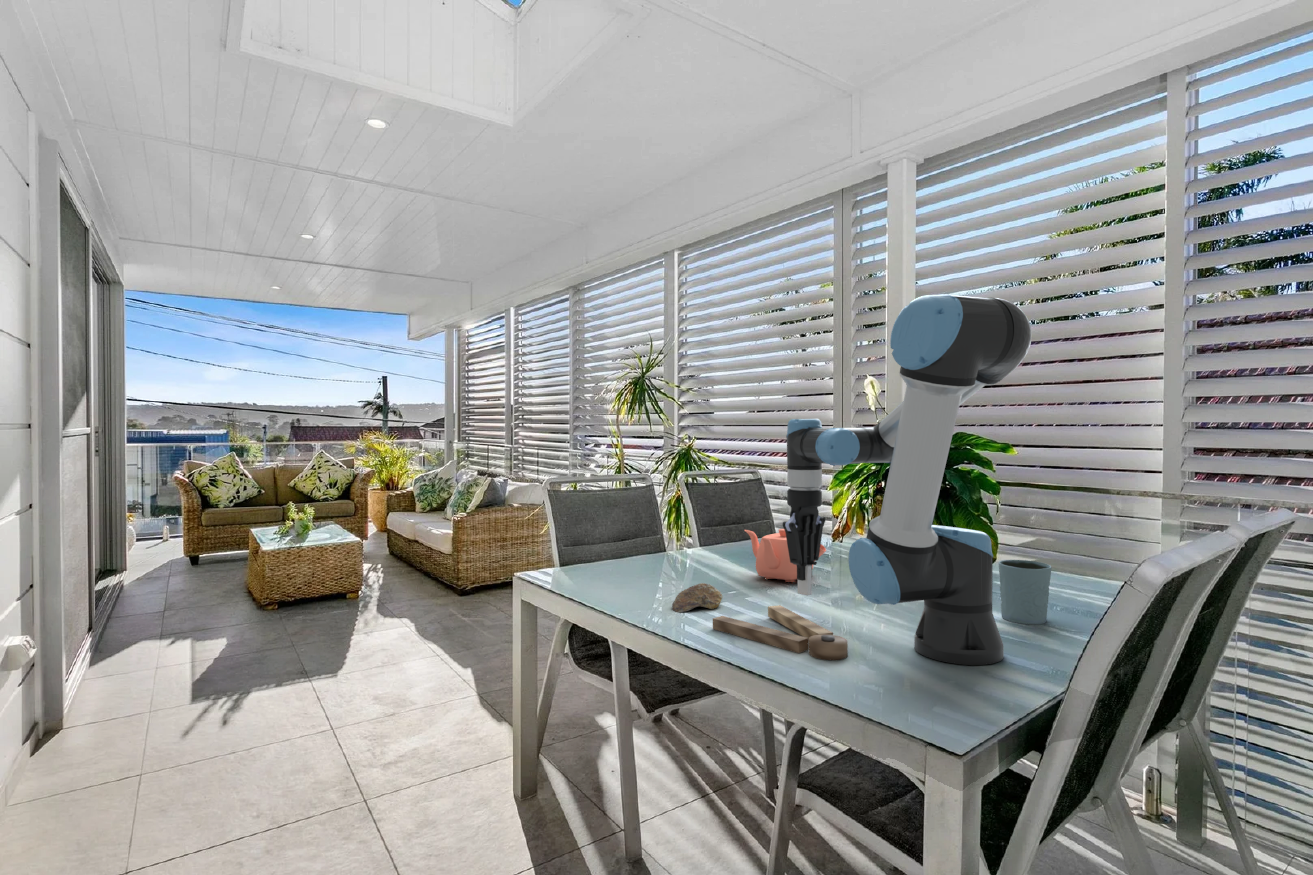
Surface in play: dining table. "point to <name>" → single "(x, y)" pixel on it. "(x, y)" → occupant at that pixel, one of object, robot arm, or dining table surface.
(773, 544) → the teapot
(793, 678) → the dining table surface
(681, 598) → the brown rock
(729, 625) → the bar
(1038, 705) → the dining table surface
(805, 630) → the tongs swing jaw
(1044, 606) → the pale blue plant pot
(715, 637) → the dining table surface
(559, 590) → the dining table surface
